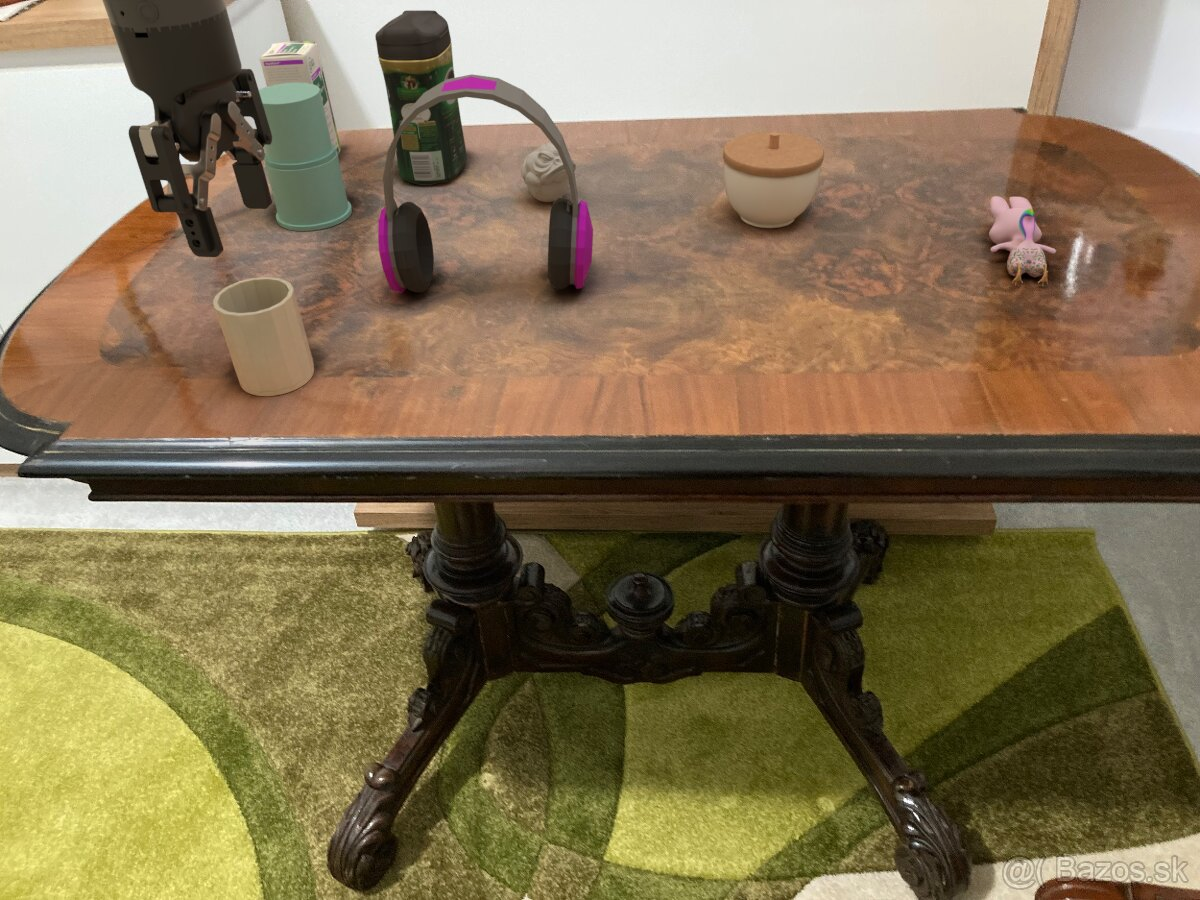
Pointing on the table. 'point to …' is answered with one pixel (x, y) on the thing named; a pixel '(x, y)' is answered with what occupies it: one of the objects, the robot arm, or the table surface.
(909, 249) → the table surface
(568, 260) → the headphones
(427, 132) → the coffee jar
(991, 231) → the rabbit figure
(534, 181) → the frog figurine
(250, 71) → the robot arm
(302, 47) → the syrup box
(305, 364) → the cream cup
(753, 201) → the lidded sugar bowl
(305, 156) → the cup stack
